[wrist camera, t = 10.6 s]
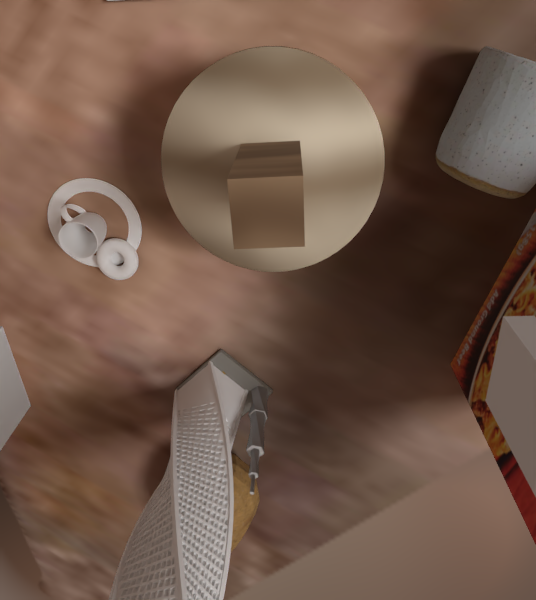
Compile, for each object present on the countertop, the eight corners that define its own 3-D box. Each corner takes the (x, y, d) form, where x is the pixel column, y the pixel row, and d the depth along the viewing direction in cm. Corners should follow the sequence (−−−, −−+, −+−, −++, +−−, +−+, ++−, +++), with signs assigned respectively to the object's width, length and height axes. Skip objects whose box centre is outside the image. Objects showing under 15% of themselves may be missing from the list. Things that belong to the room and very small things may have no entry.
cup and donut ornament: (151, 271, 45) (139, 293, 41) (65, 274, 45) (46, 295, 42) (133, 174, 41) (119, 189, 37) (38, 178, 41) (15, 193, 37)
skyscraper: (217, 433, 53) (157, 780, 29) (158, 390, 51) (36, 730, 26) (272, 389, 50) (257, 737, 26) (212, 341, 48) (130, 677, 23)
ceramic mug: (417, 155, 39) (446, 184, 32) (467, 41, 35) (512, 46, 28) (539, 194, 40) (592, 230, 33) (601, 88, 36) (674, 104, 29)
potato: (171, 509, 60) (155, 574, 53) (176, 421, 53) (158, 482, 46) (252, 519, 60) (247, 584, 53) (267, 433, 53) (264, 495, 46)
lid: (153, 52, 31) (95, 64, 21) (383, 37, 30) (426, 44, 21) (185, 259, 38) (150, 338, 28) (373, 252, 37) (402, 330, 27)
